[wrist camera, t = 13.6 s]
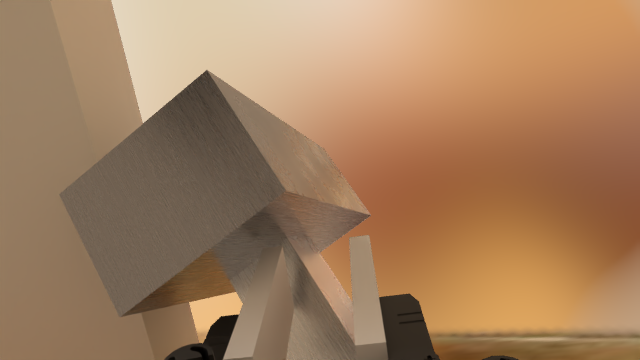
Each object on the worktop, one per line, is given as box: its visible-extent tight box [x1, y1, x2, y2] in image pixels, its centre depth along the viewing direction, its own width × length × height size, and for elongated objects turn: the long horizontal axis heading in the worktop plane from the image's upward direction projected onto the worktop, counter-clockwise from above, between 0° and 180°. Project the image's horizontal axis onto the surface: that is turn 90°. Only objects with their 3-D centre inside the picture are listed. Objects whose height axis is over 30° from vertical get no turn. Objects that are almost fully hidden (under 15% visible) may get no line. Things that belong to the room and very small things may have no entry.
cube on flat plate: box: [59, 70, 371, 360], centre depth 21 cm, size 13×14×7 cm
